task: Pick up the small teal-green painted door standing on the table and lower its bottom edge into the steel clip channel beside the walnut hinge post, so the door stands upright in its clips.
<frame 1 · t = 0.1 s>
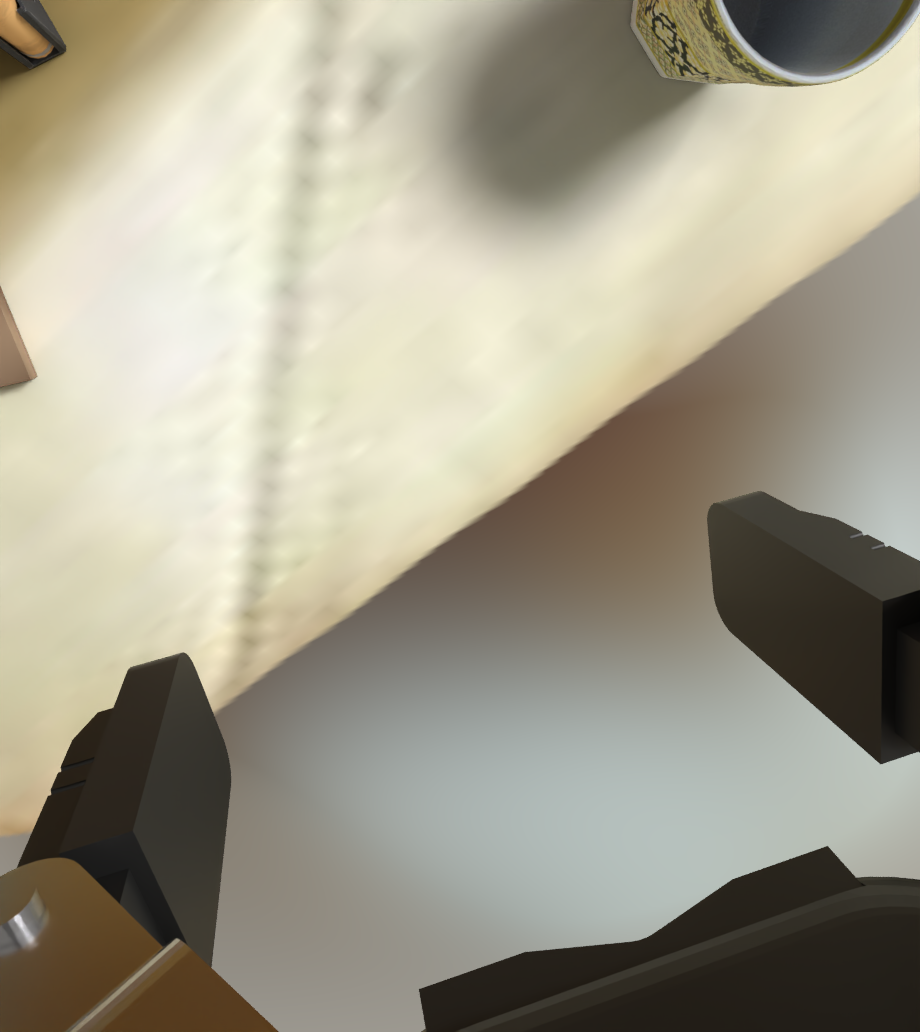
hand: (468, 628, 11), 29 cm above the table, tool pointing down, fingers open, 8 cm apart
ceramic cup: (719, 12, 37), on the table
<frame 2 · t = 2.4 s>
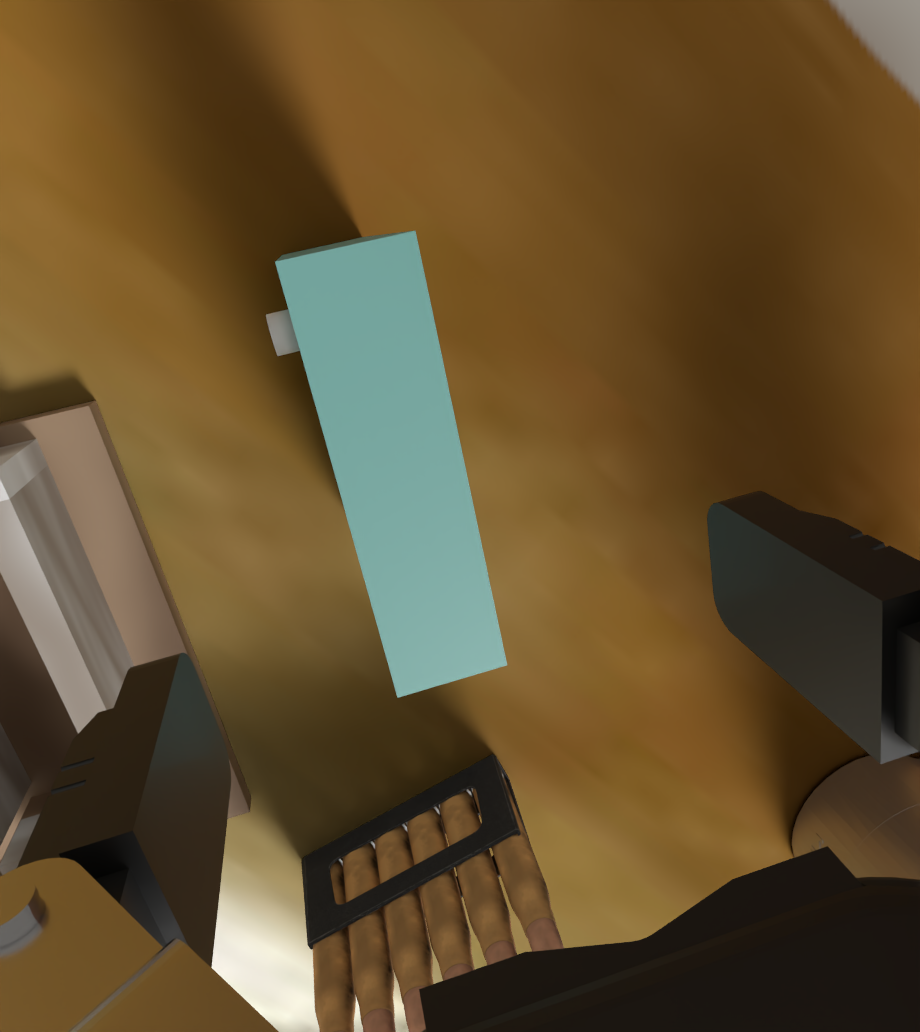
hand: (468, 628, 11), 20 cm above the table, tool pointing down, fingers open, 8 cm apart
ammunition clip: (405, 815, 37), on the table
teal door: (359, 390, 30), on the table
hinge frame: (31, 626, 30), on the table
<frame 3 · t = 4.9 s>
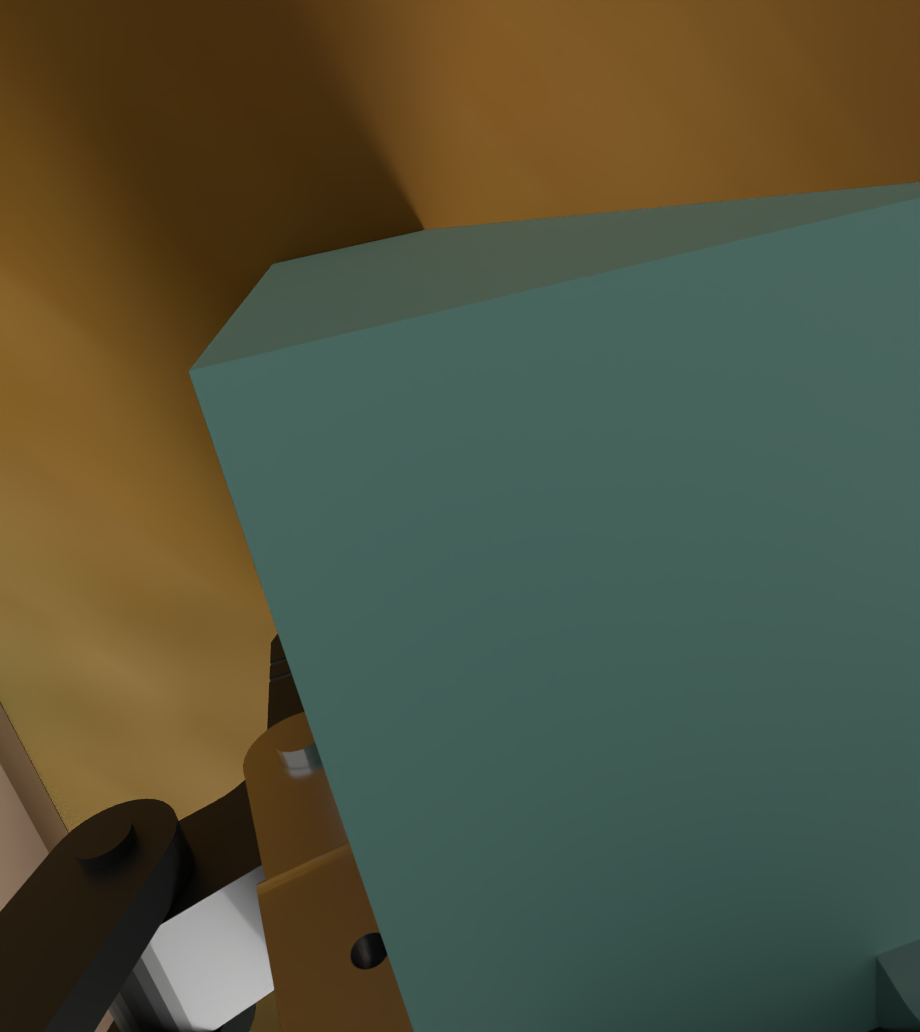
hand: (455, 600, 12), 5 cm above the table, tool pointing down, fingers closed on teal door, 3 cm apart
teal door: (413, 507, 17), on the table, touching gripper
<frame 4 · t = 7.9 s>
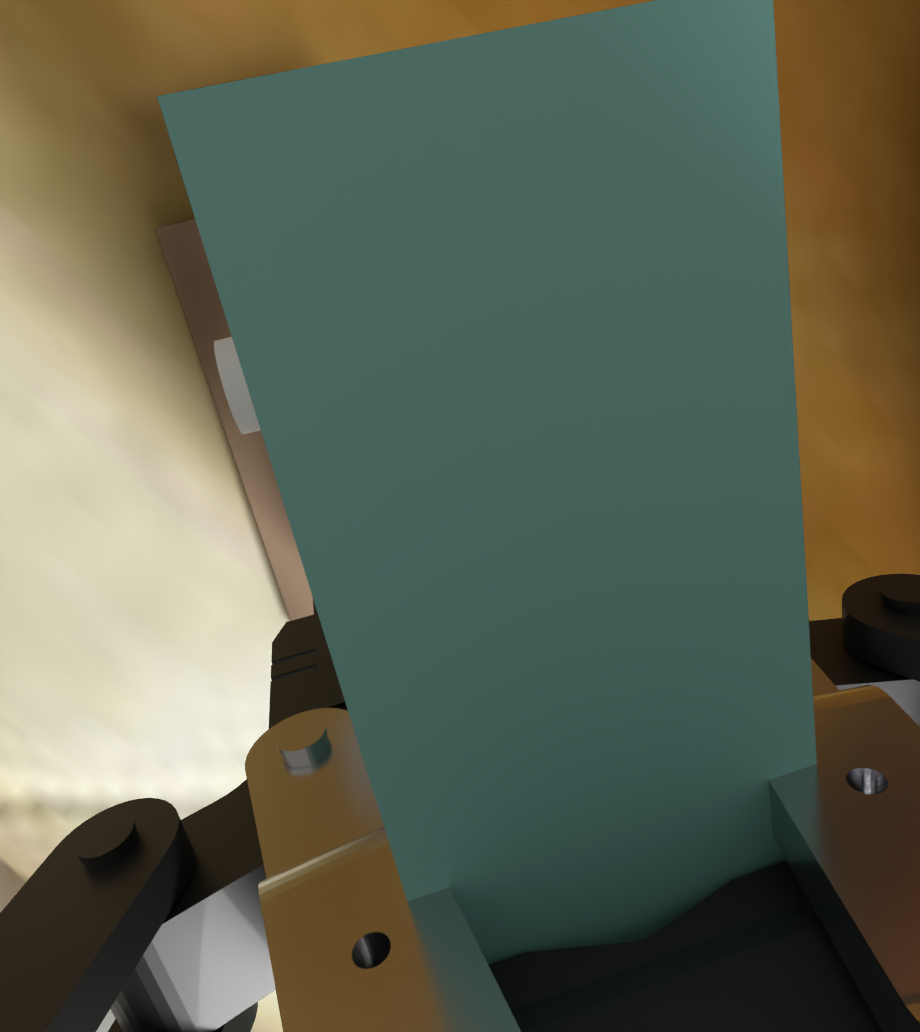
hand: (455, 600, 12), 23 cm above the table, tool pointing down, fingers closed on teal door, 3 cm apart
teal door: (400, 468, 18), point 17 cm above the table, touching gripper
hinge frame: (345, 386, 34), on the table
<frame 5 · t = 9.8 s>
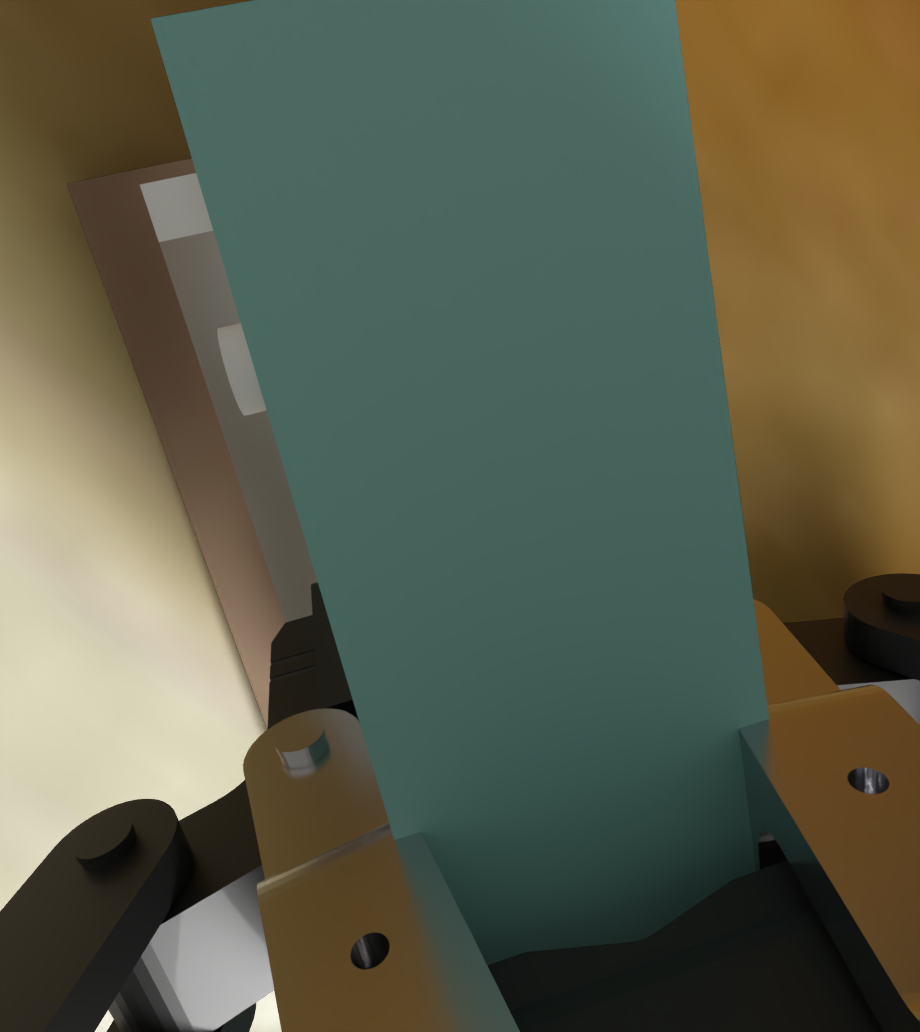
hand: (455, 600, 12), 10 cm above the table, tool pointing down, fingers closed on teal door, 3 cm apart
teal door: (401, 481, 18), point 3 cm above the table, tilted 7°, touching gripper
hinge frame: (385, 448, 21), on the table
when the fingers open (7 cm above the table, at t = 11.1 s): teal door stays where it is, resting on hinge frame.
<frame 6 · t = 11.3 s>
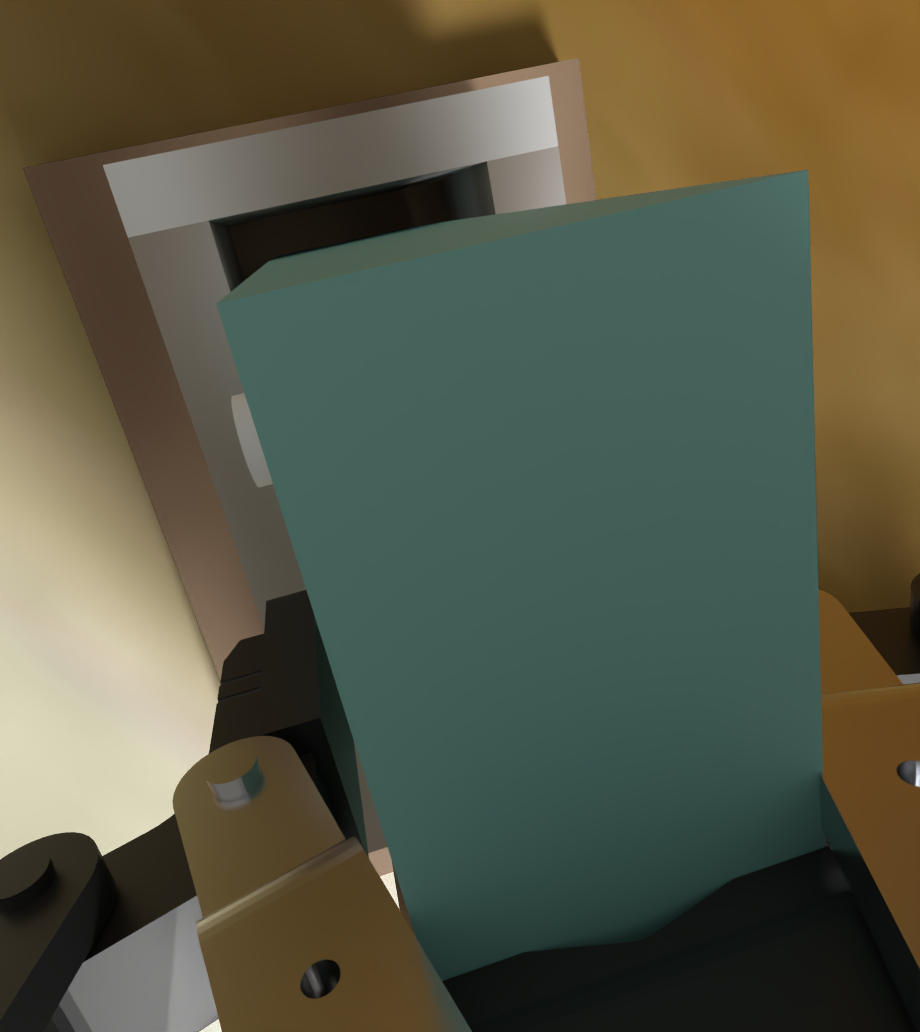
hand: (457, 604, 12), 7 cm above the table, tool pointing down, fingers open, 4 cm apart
teal door: (405, 486, 18), point 1 cm above the table, touching hinge frame
hinge frame: (400, 476, 19), on the table
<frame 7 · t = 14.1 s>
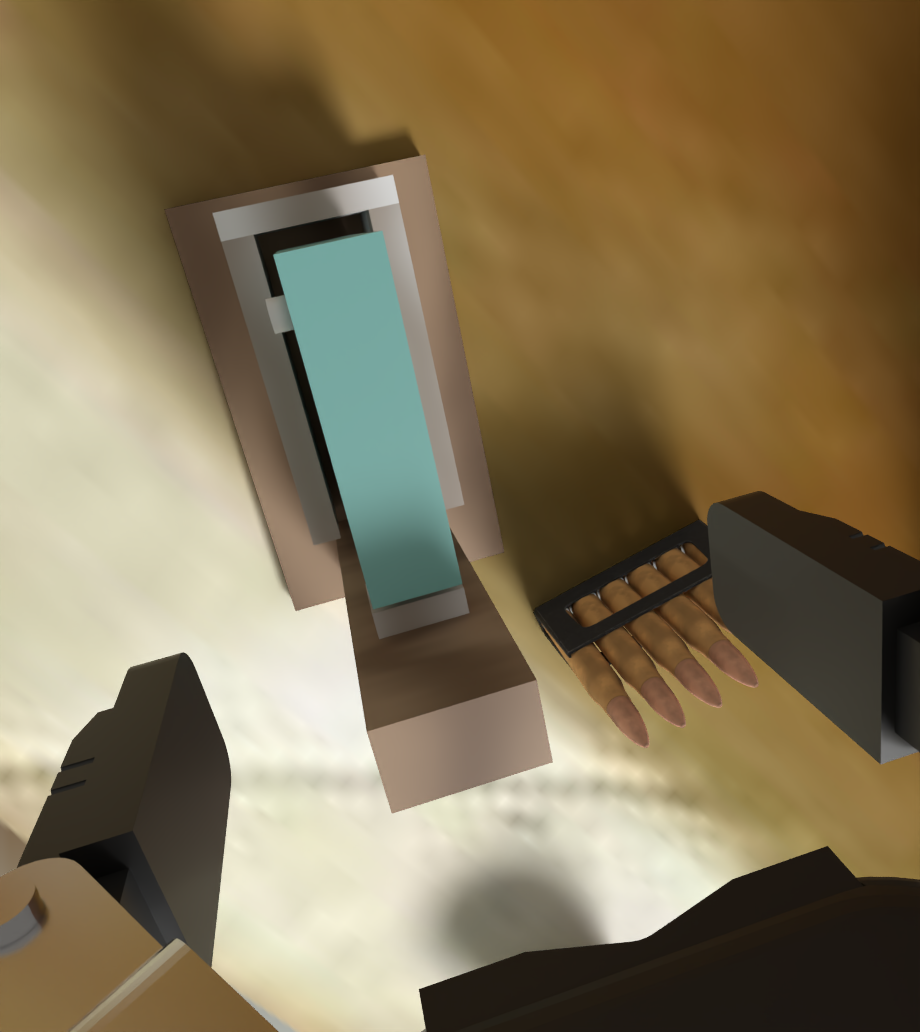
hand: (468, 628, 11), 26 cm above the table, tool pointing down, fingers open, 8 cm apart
ammunition clip: (620, 575, 43), on the table
teal door: (346, 368, 34), point 1 cm above the table, touching hinge frame
hinge frame: (345, 366, 35), on the table
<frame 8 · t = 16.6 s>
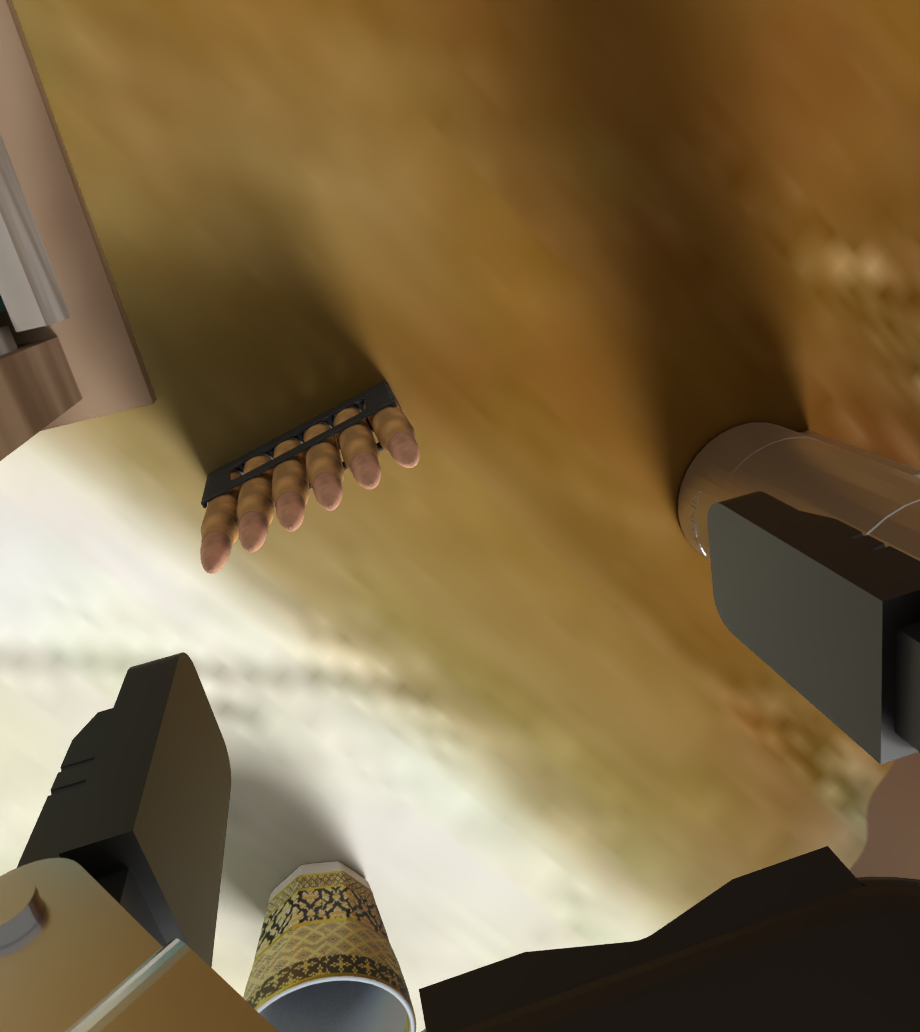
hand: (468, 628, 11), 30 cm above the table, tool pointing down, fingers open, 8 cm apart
ceramic cup: (319, 914, 51), on the table
ammunition clip: (305, 441, 40), on the table
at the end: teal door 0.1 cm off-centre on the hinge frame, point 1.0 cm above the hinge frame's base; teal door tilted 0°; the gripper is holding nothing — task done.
